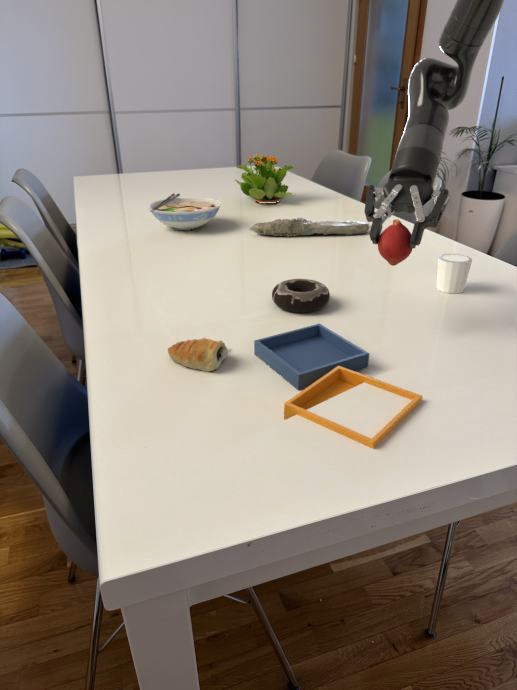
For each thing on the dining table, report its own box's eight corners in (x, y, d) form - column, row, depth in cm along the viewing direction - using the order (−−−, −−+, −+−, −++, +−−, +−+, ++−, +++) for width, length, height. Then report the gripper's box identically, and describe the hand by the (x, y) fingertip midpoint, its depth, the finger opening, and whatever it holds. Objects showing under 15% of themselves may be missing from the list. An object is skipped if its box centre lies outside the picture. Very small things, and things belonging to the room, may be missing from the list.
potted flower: (311, 204, 193) (313, 154, 185) (258, 212, 182) (257, 160, 174) (275, 194, 212) (275, 149, 204) (224, 200, 201) (222, 153, 193)
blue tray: (319, 336, 91) (319, 323, 90) (368, 367, 81) (369, 353, 80) (254, 354, 85) (253, 340, 84) (298, 390, 75) (298, 375, 74)
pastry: (161, 366, 82) (158, 344, 80) (179, 348, 88) (177, 327, 86) (215, 374, 80) (214, 352, 78) (230, 355, 85) (230, 334, 84)
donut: (275, 292, 111) (276, 275, 109) (330, 295, 109) (331, 277, 107) (267, 313, 100) (267, 294, 99) (327, 317, 99) (328, 297, 97)
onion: (391, 258, 92) (396, 213, 88) (418, 265, 88) (423, 219, 84) (369, 264, 89) (372, 218, 85) (395, 272, 85) (399, 224, 81)
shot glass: (456, 296, 107) (462, 264, 104) (427, 288, 112) (431, 257, 109) (472, 288, 111) (478, 257, 108) (443, 281, 116) (448, 250, 113)
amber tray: (337, 380, 77) (338, 365, 76) (419, 411, 70) (422, 395, 69) (283, 419, 69) (284, 403, 67) (371, 460, 61) (373, 442, 60)
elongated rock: (371, 241, 151) (364, 234, 160) (373, 222, 149) (366, 217, 158) (253, 236, 149) (252, 230, 159) (253, 218, 147) (252, 212, 156)
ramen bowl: (211, 239, 150) (209, 210, 147) (137, 236, 154) (134, 209, 150) (230, 219, 172) (229, 194, 169) (165, 217, 176) (163, 193, 172)
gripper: (373, 143, 89) (347, 227, 85) (460, 145, 83) (436, 236, 79) (379, 171, 95) (355, 250, 91) (460, 175, 89) (438, 260, 85)
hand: (393, 243), depth 85 cm, fingers closed on onion, 5 cm apart
